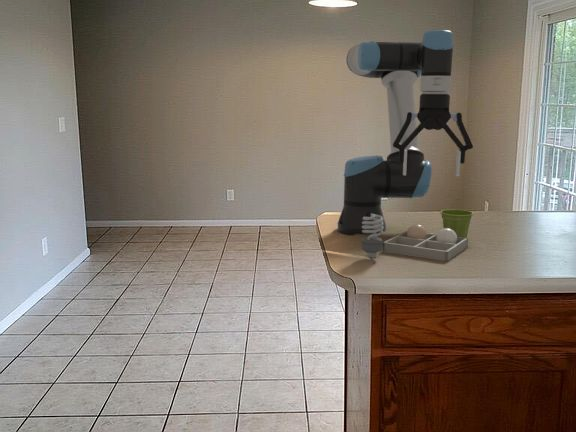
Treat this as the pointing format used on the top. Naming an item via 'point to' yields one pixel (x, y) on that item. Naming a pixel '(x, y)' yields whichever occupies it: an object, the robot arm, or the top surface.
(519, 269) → the top surface
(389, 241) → the carton
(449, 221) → the plant pot
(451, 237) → the white egg
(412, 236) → the brown egg
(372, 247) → the light bulb
